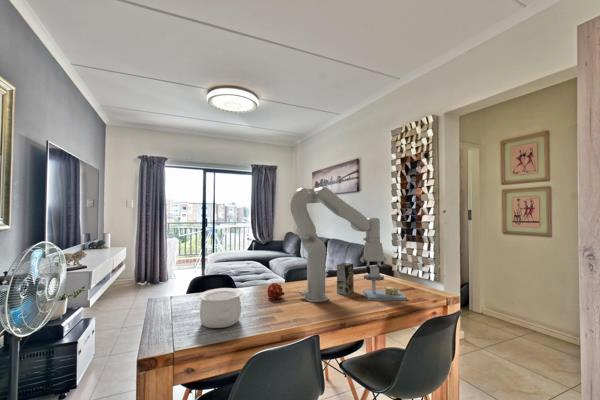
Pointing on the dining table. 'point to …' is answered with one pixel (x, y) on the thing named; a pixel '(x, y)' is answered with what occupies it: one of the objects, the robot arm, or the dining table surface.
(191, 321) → the dining table surface
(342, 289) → the coffee box
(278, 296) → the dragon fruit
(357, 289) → the dining table surface
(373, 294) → the carrier
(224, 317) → the pot
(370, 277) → the gear
